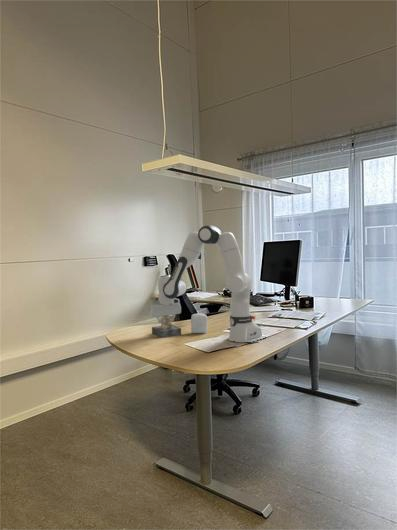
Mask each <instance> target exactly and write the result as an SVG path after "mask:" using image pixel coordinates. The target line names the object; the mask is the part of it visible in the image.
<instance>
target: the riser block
mask: <svg viewBox="0 0 397 530" xmlns="http://www.w3.org/2000/svg"><path fill="white" fill-rule="evenodd" d="M171 325H172V328H168V329H163V328H161V325H159V326H152V327H151V334H153V335H154V336H156V337H158V338H160V339H162V338H170V337H174V336H182V328H180V327H178V326H177V325H174V324H172V323H171Z"/></svg>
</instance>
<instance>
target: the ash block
mask: <svg viewBox="0 0 397 530" xmlns="http://www.w3.org/2000/svg"><path fill="white" fill-rule="evenodd" d="M171 318H172V317H169V316H168V317H160V320H161V323H160V326H161V328H163V329H168V328H172V325H173V324H172V321H171ZM171 324H172V325H171Z"/></svg>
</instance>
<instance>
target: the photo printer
mask: <svg viewBox="0 0 397 530" xmlns="http://www.w3.org/2000/svg"><path fill="white" fill-rule="evenodd" d="M190 320H191V321H190V322H191V323H190V325H191V327H190V328H191V331H190V333H191V334H208V316H207V314H205V313H194V314H191V318H190Z"/></svg>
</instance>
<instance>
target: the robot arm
mask: <svg viewBox="0 0 397 530" xmlns="http://www.w3.org/2000/svg"><path fill="white" fill-rule="evenodd" d="M206 244H207V245H217V246H218V247H217V248H219V251H220V255H221V259H222V262H223V265H224V271H225V279H226V287H227V289H228V291H229V292H231V297H230V303H229V304H230V307H229V309H230V315H229V323H230V324H229V326H230V329H229V335H228V339H229V340H228V341H229V342H233V341H235V342H234V343H245V342H251V343H254V342H253V341H255V342H258V341H261V340H260V339H262V340H264V339H263V338H265V337H266V338H267V336H266V335H265V336H262V334H263V331H262V328H261V326H259V325H258V324H256V323H255V322H254V321H253V320H256V318H257V316H255V315H250V314H251V313H250V298H251V290H252V289H251V288H252V287H251V286H252V278H251V276H250V274H248V273H246V272H245V270H244V261H243V258H242V254H241V251H240V247H239V244H238V241H237V239H236V237H235V235H234V234H233V233H232V232H230V231H225V232H223V230H222V229H221V228H220V227H218V226H215V225H211V224H210V225H207V224H206V225H203V226H201V227H200V228H199V230H198V231H195V230H194V231H191V232H190V233H189V234H188V235H187V237H186V239H185V241H184V243H183V247H182V249H181V251H180V255H179V256H178V259H177V261H176V263H175V265H174V267H173V270H172V272H171V274H165V275H161V276H159V278H158V280H157V290H158V297H157V301H152V302H150V304H149V308H150V309H149V310H150V311H149V315H150V316H151V317H152V318H156V320H157V323H158V324H161V317H163V316H172V317H170V318H171V323H172V322H175V318H176V315H180V314H181V313H182V306H181V301H180V299H179V298H177V297H180V296H182V295H184V294H185V293H186V292H187V287H188V286H187V284H186V283H185V281H184V280H182V277H183V275H184V272H185V271H186V270H188V268H189V267H190V266H192V265H193V264H195V263H196V262H197V260H198V259H199V257H200V255H201V252H202V250H203V247H204V246H205V245H206ZM266 338H265V339H266ZM257 340H258V341H257Z"/></svg>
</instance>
